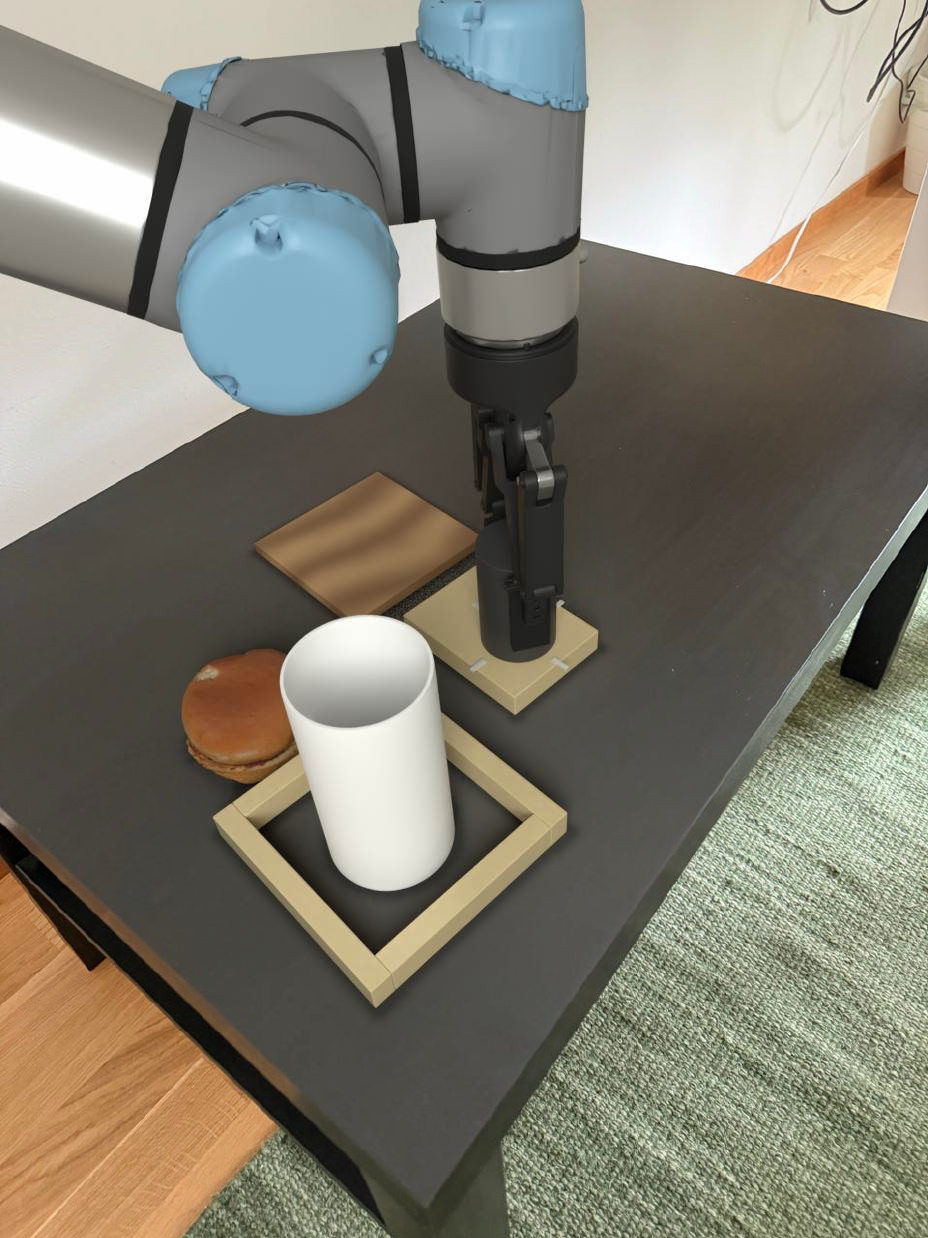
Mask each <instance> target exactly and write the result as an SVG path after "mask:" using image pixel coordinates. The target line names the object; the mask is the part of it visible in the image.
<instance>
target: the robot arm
mask: <svg viewBox="0 0 928 1238" xmlns="http://www.w3.org/2000/svg"><path fill="white" fill-rule="evenodd" d="M417 12H418V13H417V14H418V15H417V16H418V17H417V21H418V26H417V27H416V29H415V40H410V41H404V42H400V43H399V45H392V46H391V45H390V46H385V47H374V48H363V49H352V50H350V49H349V50H341V51H339V50H338V51H330V52H317V53H307V54H295V55H286V56H285V55H284V56H273V57H262V58H261V57H260V58H251V59H250V58H242V56H240V55H239V56H232V57H226V58H225V59H223V60H222V62H216V63H211V64H206V65H201V66H195V67H190V68H183V69H182V68H181V69H178V70H176V71H173V72H172V73H170V74H169V75H168V76H167V77H166V79H165V80H164V81H163V83H162V85H161V88H160V90H158V89H156V88H154V87H151V86H149V85H147V84H144V83H142V82H140V81H138V80H134V79H132V78H130V77H127V76H126V75H123V74H121V73H118V72H115V71H113V70H111V69H108V68H105V67H103V66H101V65H98V64H96V63H94V62H91V61H89V60H86V59H84V58H82V57H80V56H77V55H74V54H72V53H69V52H67V51H65V50H62V49H60V48H57V47H55V46H52V45H51V44H48V43H47V42H46V43H45V42H43V41H41V40H38V39H36V38H33V37H31V36H29V35H27V34H24V33H21V32H19V31H17V30H15V29H12V28H9V27H7V26H5V25H2V24H0V274H2V275H5V276H7V277H10V278H14V279H17V280H20V281H23V282H26V283H29V284H33V285H36V286H39V287H41V288H45V289H47V290H51V291H54V292H57V293H61V294H63V295H67V296H70V297H73V298H76V299H79V300H83V301H85V302H88V303H92V304H93V305H97V306H101V307H104V308H107V309H110V310H113V311H116V312H120V313H123V314H126V315H128V316H130V317H134V318H136V319H139V320H143V321H146V322H148V323H150V324H152V325H155V326H157V327H160V328H163V329H166V330H169V331H172V332H175V333H179V334H182V336H183V340H184V343H185V346H186V349H187V350H188V352H189V354H190V356H191V358H192V360H193V362H194V363H195V365H196V367H197V368H198V369H199V371H200V372H201V373H202V374H204V376H206V377H207V378H208V379H209V380H210V381H211V382H212V384H214V385H215V386H216V387H217V388H219V389H220V390H222V391H223V392H224V393H225V394H226V395H228V396H229V397H230V398H231V400H233V401H235V402H237V403H238V404H241V405H242V406H244V407H247V408H250V409H252V410H255V411H257V412H262V413H265V414H269V415H274V416H275V415H276V416H281V417H282V416H283V417H284V416H285V417H302V416H312V415H316V414H321V413H325V412H328V411H331V410H334V409H337V408H338V407H341V406H343V405H345V404H347V403H349V402H350V401H352V400H353V399H355V398H356V397H358V396H359V395H361V394H362V393H363V392H364V391H365V390H366V389H368V388H369V387H370V385H371V384H372V383H373V382H374V381H375V380H376V379H377V377H379V375H380V373H381V372H382V370H383V369H384V367H385V366H386V364H387V362H388V361H389V359H390V358H391V357H392V354H393V351H394V346H395V343H396V338H397V333H398V328H399V307H400V306H399V305H400V304H399V284H400V281H401V276H402V275H401V274H402V273H401V268H400V263H399V262H400V256H399V255H400V254H399V253H398V250H397V247H396V245H395V242H394V240H393V237H392V235H391V231H390V227H392V226H400V225H407V224H408V225H409V224H416V223H419V222H421V221H423V222H424V221H430V220H434V223H435V254H436V255H435V256H436V267H437V277H438V278H437V279H438V288H439V289H438V290H439V301H440V311H441V317H442V319H443V321H444V325H443V339H444V353H445V367H446V376H447V382H448V384H449V386H450V388H451V389H452V391H453V393H455V394H456V395H457V396H458V397H459V398H461V399H462V400H464V401H465V402H467V403H469V404H470V419H471V420H470V421H471V440H472V461H473V487H474V488H475V489H476V492H477V493H480V492H481V493H480V496H481V497H480V504H479V505H480V509H481V511H482V512H483V514H484V515H488V517H484V518H483V529H484V528H485V527H486V526H488V525H489V524H491V523H493V522H496V521H498V520H502V519H506V518H507V525H508V535H509V544H510V553H511V562H512V571H513V576H510V577H508V579H506V580H502V583H503V588H504V591H505V593H509V619H510V645H511V648H512V650H513V652H517V651H521V650H526V649H530V648H535V647H539V646H544V645H548V644H550V618H551V597H553V596H561V595H563V594H564V589H565V584H564V578H565V577H564V576H565V573H564V569H565V568H564V567H565V564H564V563H565V561H564V560H565V559H564V556H565V554H564V552H565V551H564V549H565V497H566V491H567V486H568V479H569V472H568V470H567V468H566V466H565V465H564V464H563V463H560V464H555V465H554V464H553V452H552V444H553V443H554V441H555V424H554V418H553V414H552V413H551V412H550V411H547V410H548V409H549V407H550V406H552V404H554V403H555V402H556V401H557V400H558V399H559V398H560V397H562V396H564V395H565V394H566V393H567V392H568V391H569V390H570V389H571V388H572V386H573V385H574V383H575V381H576V379H577V376H578V365H579V363H578V362H579V361H578V360H579V333H580V332H579V331H580V326H579V325H580V324H579V319H578V317H577V316H576V315H577V313H578V310H579V303H580V302H579V300H580V299H579V298H580V265H582V264H584V263H586V262H587V261H588V259H589V254H590V253H589V249H588V248H587V246H586V244H583V243H581V233H582V232H581V229H582V228H581V227H582V226H581V225H582V202H583V201H582V200H583V178H584V177H583V175H584V157H585V133H586V117H587V116H586V115H587V114H586V113H587V109H588V108H589V103H590V102H589V101H590V96H589V95H588V92H587V91H588V90H587V59H586V58H587V53H586V51H587V50H586V17H585V10H584V6H583V1H582V0H420V2H419V6H418V11H417Z"/></svg>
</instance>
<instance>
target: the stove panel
mask: <svg viewBox="0 0 928 1238" xmlns="http://www.w3.org/2000/svg"><path fill="white" fill-rule="evenodd" d="M564 604H565V601H564V600H562V599H559V600H558V601H557V604H556V639H555V642H554V645H553V646H552V648H551V649H550V650H549V651H548V652H547V653H546V654H545V655H544V656H542V657H540V658H538V659H536V660H533V661H529V662H523V663H512V662H506V661H503V660H500V659H498V658H496V657H494V656H492V655H491V654H490V653H489V652H488V651H487V650H486V649H485V648H484V646H483V644H482V641H481V633H480V618H479V603H478V588H477V572H476V565H474V566H473V567H471V568H470V569H469V570H467V571H466V572H464V573H463V574H460V576H458V577H457V578H455V579H454V580H452V581H451V582H449V583H448V584H447V585H445V586H444V587H442V588H441V589H440V590H438V591H437V592H435V593H434V594H432V595H430V596H429V597H428V598H426V599H425V600H423V601H422V602H420V603H419V604H417V605H416V606H415V607H413V608H412V609H410V610H409V611H408V612H406V613H404V614H403V616H402V617H403V622H404V623H405V624H407V625H409V626H411V627H412V628H414V629H415V630H416V631H418V632H419V633H420V634H421V635H422V636H423V637H424V639H425V640H426V641H427V643H428V645H429V647H430V649H431V651H432V655H435V656H436V657H437V658H439V659H440V660H441V661H442V662H444V663H445V664H447V665H448V666H449V667H450V668H452V669H453V670H455V672H457V673H458V674H460V675H461V676H463V678H465V679H466V680H468V681H469V682H470V683H472V684H473V685H474V686H476V687H477V688H478V689H480V690H481V691H482V692H483V693H484V694H486V695H487V696H489V697H490V698H491V699H493V700H494V701H496V702H497V703H498V704H500V705H501V706H502V707H504V708H505V709H506V710H508V711H509V712H510V713H512V714H513V715H514V716H516V715H518V713H520V712H521V711H523V710H524V709H525V708H526V707H527V706H529V705H530V704H531V703H532V702H534V700H536V699H537V698H539V697H540V696H541V695H543V693H545V692H546V691H547V690H549V688H550V687H552V686H553V685H555V684H556V683H557V682H558V681H560V680H561V679H562V678H563V677H564V676H565V675H567V674H568V673H569V672H570V671H571V670H573V669H574V668H575V667H577V666H578V665H579V664H580V663H581V662H583V661H584V660H585V659H586V658H588V657H589V656H590V655H591V654H593V653H595V651H596V650H597V649H598V645H599V630H598V629H596V628H595V627H594V626H592V625H590V624H589V623H587V622H586V621H584V620H582V619H581V618H579V617H578V616H576V615H575V614H573V613H572V612H570V611H568V610H567V609H566V608H564V607H563V606H562V605H564Z"/></svg>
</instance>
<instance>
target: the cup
mask: <svg viewBox="0 0 928 1238" xmlns="http://www.w3.org/2000/svg"><path fill="white" fill-rule="evenodd" d="M289 650H290V651H289V652H287V653H288V654H286V655H287V657H286V659H285V661H284V663H283V665H282V669H281V674H280V688H281V695H282V698H283V702H284V705H285V708H286V712H287V715H288V718H289V721H290V725H291V728H292V731H293V734H294V738H295V741H296V744H297V747H298V751H299V754H300V757H301V760H302V764H303V767H304V770H305V773H306V777H307V780H308V783H309V786H310V793H311V797H312V800H313V802H314V805H315V809H316V812H317V816H318V818H319V823H320V825H321V829H322V831H323V834H324V838H325V841H326V845H327V848H328V851H329V854H330V857H331V859H332V862H333V863H334V866H335V867H336V868H337V870H338V871H339V872H340V874H342V875H343V876H344V877H345V878H346V879H347V880H349V881H351V882H352V883H354V884H355V885H357V886H360V887H362V888H365V889H369V890H372V891H378V892H379V891H380V892H393V891H400V890H404V889H408V888H411V887H413V886H416V885H419V884H420V883H423V882H424V881H426V880H427V879H429V878H430V877H432V875H434V874H435V873H436V872H437V871H438V870H439V869H441V867H442V866H443V865H444V863H445V862H446V860H447V859H448V857H449V855H450V853H451V850H452V849H453V846H454V841H455V836H456V835H455V833H456V825H455V817H454V810H453V802H452V801H453V800H452V793H451V791H452V790H451V786H450V785H451V784H450V775H449V768H448V759H447V758H446V751H445V742H444V734H443V726H442V718H441V712H442V711H441V710H442V709H441V702H440V694H439V687H438V678H437V671H436V670H437V669H436V664H435V658H434V654H433V653H432V651H431V649H430V647H429V645H428V643H427V641H426V640H425V639H424V637H423V636H422V635H421V634H420V633H419V632H418V631H416V630H415V629H414V628H412V627H411V626H409V625H407V624H405V623H404V621H401V620H400V619H399V620H398V619H395V618H393V617H389V616H385V615H379V616H378V615H356V616H349V617H344V618H340V617H339V618H336V619H334V620H331V621H328V622H326V623H323V624H322V625H320V626H318V627H316V628H314V629H312V630H311V631H309V632H308V633H307V634H305V635H303V637H302V638H300V639H299V640H298V641H297V642H296V643H295V644H294V645H293V646H292V648H291V649H289Z"/></svg>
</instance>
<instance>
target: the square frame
mask: <svg viewBox="0 0 928 1238" xmlns="http://www.w3.org/2000/svg"><path fill="white" fill-rule="evenodd" d="M441 718H442V726H443V734H444V742H445V751H446V759H447V761H449V762H450V763H451V764H452V765H453V766H455V767H456V768H457V769H458V770H460V771H461V772H462V773H463V774H465V776H466V777H468V779H470V780H472V781H473V782H474V783H475V784H476V785H477V786H479V787H480V788H481V789H482V790H483V791H485V792H486V793H487V794H488V795H489V796H491V798H493V799H495V801H496V802H498V803H499V804H500V805H502V807H504V808H505V809H506V810H508V811H509V812H510V813H511V814H512V815H513V816H514V817H516V818H517V819H518V820H519V821H521V822H522V823H520V825H519V826H518V827H517V828H516V829H515V830H513V831H512V832H511V833H510V834H509V835H508V836H507V837H506V838H505V839H503V840H502V841H501V842H500V843H499V844H497V845H496V846H495V847H494V848H493V849H492V850H491V851H490V852H489V853H488V854H486V855H485V856H484V857H483V858H482V859H481V860H480V861H478V863H476V864H475V865H474V866H473V867H472V868H471V869H470V870H469V871H467V873H465V874H464V875H463V876H462V877H460V879H458V880H457V881H456V882H455V883H454V884H452V886H451V887H449V888H448V889H447V890H446V891H445V892H444V893H443V894H441V896H440V897H438V898H437V899H436V900H435V901H434V902H432V904H430V906H428V907H427V908H426V909H424V911H423V912H421V914H419V915H418V916H417V917H416V918H414V920H413V921H412V922H410V923H409V924H408V925H407V926H405V927H404V929H402V930H401V931H400V932H399V933H398V934H396V936H395V937H393V938H392V939H391V940H390V941H389V942H388V943H387V944H386V945H385V946H383V947H382V948H381V949H380V950H378V952H377V953H376V954H374V953H373V952H372V951H371V950H370V949H369V948H368V947H367V946H366V945H365V944H364V942H362V940H360V938H359V937H358V936H357V935H356V934H355V933H354V932H353V931H352V930H351V929H350V928H349V926H347V924H346V923H345V922H344V921H343V920H342V919H341V918H340V917H339V915H337V913H336V912H335V911H333V909H332V908H331V907H330V906H329V905H328V904H327V903H326V902H325V901H324V900H323V899H322V898H321V896H319V894H317V892H316V891H315V890H314V889H313V888H312V887H311V886H310V884H308V882H306V880H305V879H303V877H302V876H301V875H300V874H299V873H298V872H297V871H296V870H295V869H294V868H293V866H291V864H290V863H289V862H288V861H287V860H286V858H284V857H283V856H282V854H281V853H279V851H278V850H277V849H276V848H275V847H274V846H273V845H272V844H271V843H270V842H269V841H268V840H267V839H266V838H265V837H264V836H263V834H261V833H260V831H259V830H260V829H261V828H262V827H264V826H265V825H266V824H268V823H269V822H271V821H272V820H273V819H274V818H276V817H277V816H279V815H280V814H281V813H283V812H284V811H285V810H286V809H288V808H289V807H290V806H291V805H294V803H296V802H297V801H298V800H299V799H301V798H302V797H303V796H305V795H306V794H308V793H309V792H311V790H310V786H309V783H308V780H307V777H306V773H305V770H304V767H303V764H302V760H301V757H300V754H298V755H297V756H295V757H294V758H293V759H291V760H290V761H289V762H287V763H286V764H284V765H283V766H282V767H280V768H279V769H278V770H276V771H275V772H273V773H272V774H271V775H269V776H268V777H267V778H265V779H264V780H262V781H259V782H257V784H255V785H254V786H253V787H251V788H250V789H249V790H247V791H246V792H245V793H243V794H242V795H240V796H239V797H238V798H236V799H235V800H234V801H232V803H229V804H228V805H226V807H224V808H222V809H221V810H220V811H218V812H217V813H216V814H214V815H213V816H212V819H213V822H214V824H215V825H216V828H217V830H218V833H219V835H220V836H221V837H222V838H223V839H224V841H225V842H226V843H227V844H228V845H229V846H230V847H231V848H232V850H233V851H234V852H235V853H236V854H237V855H238V856H239V857H240V858H241V859H242V861H243V863H245V864H246V865H247V866H248V867H249V869H250V870H251V871H252V872H253V873H254V874H255V876H256V877H258V879H259V880H260V881H261V882H262V883H263V884H264V885H265V887H266V888H267V889H268V890H269V891H270V892H271V893H272V894H273V895H274V897H275V898H276V899H277V900H278V901H279V902H280V904H282V906H283V907H284V908H285V909H286V910H287V911H288V912H289V913H290V915H292V917H293V918H294V919H295V920H296V921H297V922H298V924H300V926H301V927H302V928H303V929H304V930H305V931H306V932H307V934H309V936H310V937H311V938H312V939H313V940H314V941H315V942H316V943H317V944H318V946H319V947H320V948H321V949H322V950H323V952H324V953H325V954H327V956H328V957H329V958H330V959H331V961H332V962H333V963H334V964H335V965H336V966H337V967H338V968H339V969H340V970H341V971H342V972H343V973H344V975H345V976H346V977H347V978H348V979H349V981H351V983H352V984H353V985H354V986H355V987H356V988H357V989H358V990H359V992H361V994H362V995H363V996H364V997H365V998H366V999H367V1001H369V1003H370V1004H371V1005H372V1006H373V1007H374V1008H378V1007H379V1006H380V1005H381V1004H382V1003H384V1001H385V1000H386V999H388V997H390V996H391V994H393V993H394V992H395V991H396V990H398V989H399V988H400V987H401V985H403V984H404V983H405V982H406V981H407V980H409V978H411V976H412V975H414V974H415V973H416V972H417V971H418V970H419V969H420V968H421V967H422V966H423V965H424V964H426V963H427V961H429V960H430V959H431V958H432V957H433V956H434V955H435V954H437V953H438V951H440V950H441V949H442V948H443V947H444V946H445V945H446V944H447V943H448V942H449V941H450V940H451V939H452V938H454V936H456V935H457V934H458V933H459V932H460V931H461V930H462V929H463V928H464V927H465V926H466V925H468V923H470V922H471V921H472V920H473V919H474V918H475V917H476V916H477V915H478V914H480V913H481V911H483V910H484V909H485V908H486V907H487V906H488V905H489V904H490V903H491V902H492V901H494V900H495V899H496V898H497V897H498V896H499V895H500V894H501V893H503V891H504V890H506V888H507V887H509V885H511V884H512V883H513V882H514V881H515V880H516V879H518V877H519V876H520V875H522V873H524V872H525V871H526V870H527V869H528V868H529V867H530V866H532V864H534V862H535V861H536V860H538V859H539V858H540V857H541V856H542V855H543V854H544V853H545V852H546V851H548V849H550V847H551V846H553V845H554V844H556V842H557V841H558V840H559V839H560V838H561V837H563V836H564V835H565V833H567V832H568V830H567V829H568V812H567V811H566V810H565V809H564V808H563V807H561V806H560V805H559V804H557V803H556V802H554V800H552V799H551V798H550V797H548V796H547V795H546V794H545V793H544V792H542V791H541V790H539V788H537V787H536V786H535V785H534V784H532V783H531V782H530V781H528V780H527V779H526V778H525V777H523V776H522V775H521V774H520V773H519V772H517V771H516V770H514V768H512V767H511V766H510V765H508V764H507V763H506V762H505V761H503V760H502V759H501V758H500V757H499V756H497V755H496V754H495V753H494V752H492V751H491V750H489V749H488V748H487V747H486V746H485V745H483V744H482V743H481V742H480V741H479V740H478V739H476V738H475V737H473V736H472V735H471V734H469V733H468V732H467V731H466V730H464V729H463V728H462V727H461V726H460V725H459V724H457V723H456V722H455V721H453V720H452V719H451V718H450V717H448V716H447V715H445V713H443V712H442V711H441Z"/></svg>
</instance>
